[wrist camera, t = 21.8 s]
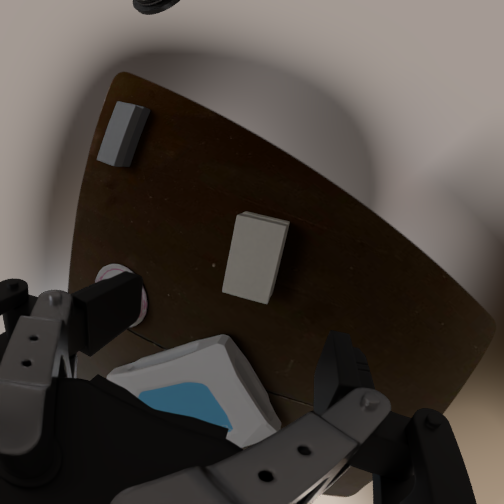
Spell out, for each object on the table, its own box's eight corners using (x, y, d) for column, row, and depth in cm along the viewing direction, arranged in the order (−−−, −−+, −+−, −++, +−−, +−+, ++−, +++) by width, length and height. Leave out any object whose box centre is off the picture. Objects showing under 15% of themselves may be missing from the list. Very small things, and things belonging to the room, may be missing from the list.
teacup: (98, 316, 50) (79, 328, 44) (95, 257, 47) (73, 265, 42) (149, 333, 48) (131, 349, 42) (148, 270, 46) (128, 280, 40)
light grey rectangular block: (241, 213, 37) (237, 214, 34) (287, 224, 36) (286, 226, 33) (227, 285, 39) (221, 291, 37) (270, 297, 38) (267, 304, 36)
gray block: (132, 105, 41) (117, 99, 36) (150, 110, 40) (136, 103, 36) (112, 161, 43) (96, 159, 39) (129, 167, 43) (113, 166, 39)
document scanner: (116, 364, 52) (100, 380, 46) (230, 328, 45) (218, 346, 39) (169, 437, 54) (159, 454, 48) (283, 418, 47) (279, 442, 41)
